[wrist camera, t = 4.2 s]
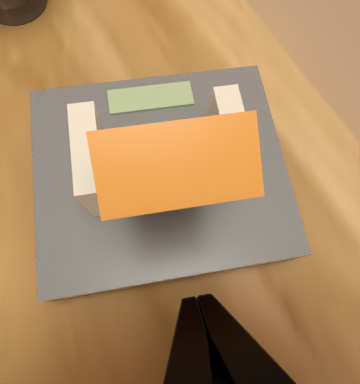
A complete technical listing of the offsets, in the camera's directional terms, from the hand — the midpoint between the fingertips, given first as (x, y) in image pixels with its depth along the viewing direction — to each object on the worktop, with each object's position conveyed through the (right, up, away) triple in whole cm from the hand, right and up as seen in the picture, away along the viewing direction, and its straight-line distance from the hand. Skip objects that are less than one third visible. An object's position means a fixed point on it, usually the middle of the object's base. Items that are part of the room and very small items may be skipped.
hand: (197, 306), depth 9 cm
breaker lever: (-1, +5, +8) cm, 9 cm away
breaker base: (-2, +4, +11) cm, 12 cm away
